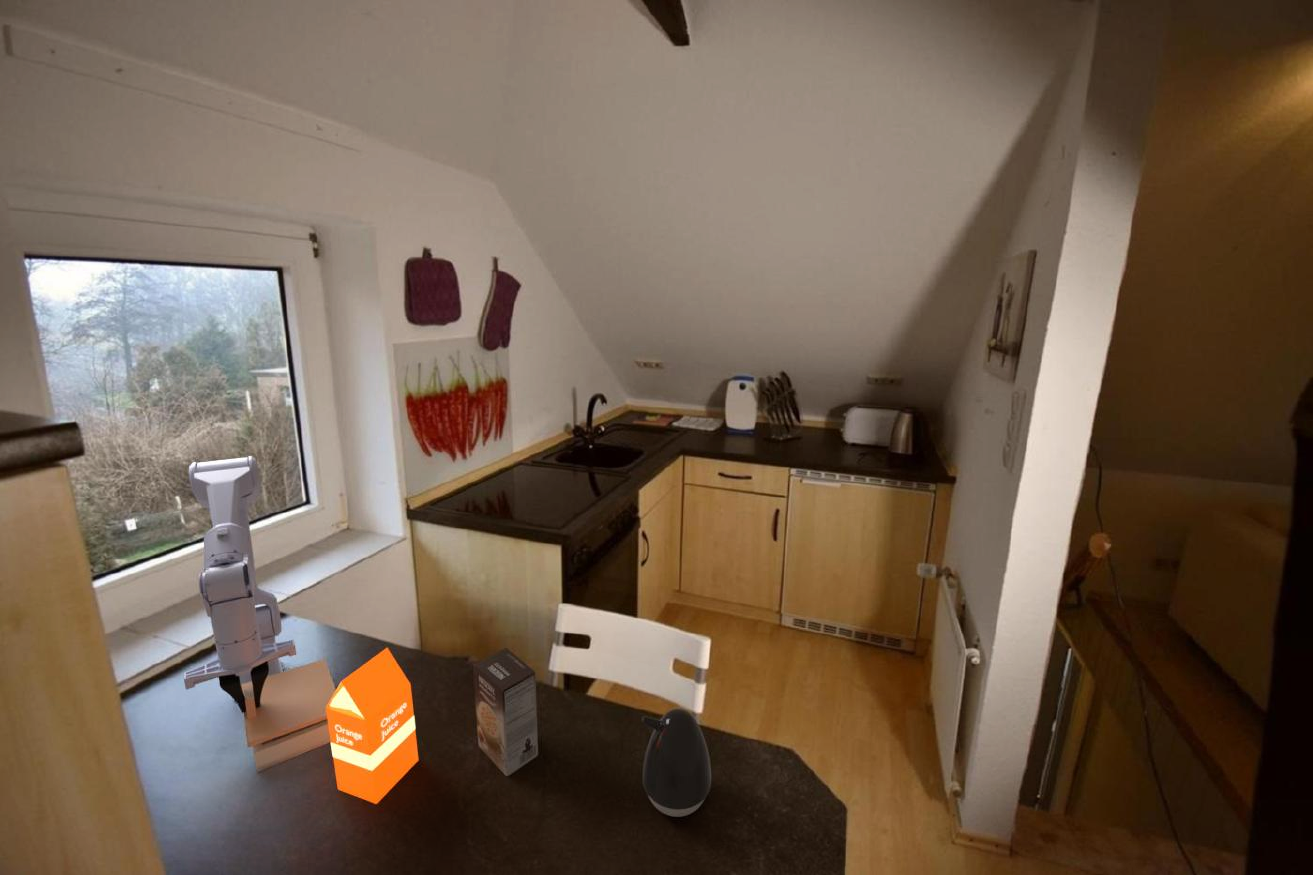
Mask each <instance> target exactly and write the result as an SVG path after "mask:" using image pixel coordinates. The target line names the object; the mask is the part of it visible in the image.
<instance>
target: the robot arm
mask: <svg viewBox="0 0 1313 875" xmlns="http://www.w3.org/2000/svg"><path fill="white" fill-rule="evenodd" d="M258 465H259V464H258V461H257V458H255V457H254V456H253V455H249V456H248V457H247V456H246V457H238V458H230V459H229V458H228V459H220V460H211V461H203V462H197V461H196V462H192V463H191V464H190V465H189V466H188V478H189V485H190V489H191V492H192V494H193V495H194V496H195V499H196V501H197V503H198V504H199V505H200V506H201V508H207V509H209V513H210V518H211V524H212V528H210V529H208V531H207V532H206V533H205V534H204V536H203V572H201V571H200V572H199V575H198V588H199V589H198V590H199V596H200V599H201V601H202V603H203V605H204V608H205V611H206V615H207V617H208V618H209V619H210V624H211V628H212V633H213V639H214V643H215V648H216V654H217V658H216V659H214V660H212V661H209V662H207V663H205V664H203V665H201V666H199V667H196V668H194V669H191V670H188V671H185V672H183V683H184V687H185V690H189V689H192V688H195V686H196V685H198V684H202V683H204V682H208V681H211V680H214V679H217V678H218V681H219V687H220V688H221V690H222V691H224V692H226V694H227V695H229V696H230V697H231V698H232V699H233V701H234V702H235V703H236V704H237V706H238V707H239V709H240V712H241V714H244V712H247V711H246V704H245V697H244V694H243V690H242V687H241V684H244V683H247V682H250V681H252V684H253V693H254V700H255V708H258V707H260V699H261V693H262V689H263V685H264V683H265V680H266V678H267V676H270V675H273V674H277V673H280V672H283V671H284V669H283V665H282V661H281V659H280V658H284V657H287V656H288V657H293V656H296V655H297V649H296V642H295V641H294V639H291V640H287V641H282V642H281V641H280V642H276V637H278V636H279V635H280V634H281V633H282V629H283V628H282V621H281V620H282V619H281V613H280V607H279V604H278V600H277V597H276V596H275V594H274V593H271V592H268V591H266V590H264V589H261V588H259V587H258V580H257V572H256V566H255V558H254V550H253V543H252V536H251V528H250V520H249V510H250V506H251V504H252V503H254V502H255V501H257V500H259V499H261V495H260V494H261V493H262V490H261V481H260V472H259V471H260V470H259V466H258ZM259 605H260V606H259ZM256 606H257V607H256Z"/></svg>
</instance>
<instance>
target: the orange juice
mask: <svg viewBox="0 0 1313 875" xmlns="http://www.w3.org/2000/svg"><path fill="white" fill-rule="evenodd" d="M326 712H327V719H328V726H329V733H330V739H331V742H330V748H331V754H332V758H333V764H334V772H335V779H336V784H337V785H336V786H337V787H336V788H337V790H338V791H341V792H342V793H346V794H349V795H351V796H354V797H358V798H359V799H362V800H365V801H367V802H370V803H372V804H375V805H377V804H379V802H380V801H381V800H382V799H383V798H384V797H385V796H386V795H387V794H388V793H389V792H390V790H392V789H393V787H394V786H396V784H397V783H398V782H399V781H400V780H401V779H402V778H403V777H404V776H405V775H406V774H407V773H408V772H409V770H411V768H413V767H414V766H415V765H416V763H418V762H419V753H418V744H417V743H418V741H417V735H416V734H417V733H416V728H417V727H416V719H415V718H416V717H415V714H414V704H413V695H412V686H411V682H410V681H409V679H408V678H407V677H406V674H405V673H404V671H403V669H402V668H401V667H400V665H399V663H397V660H396V659H395V658H394V656H393V654H392V652H391V651H390V650H389V648H388V646H387V647H386V648H384V650H382V651H380V652H378V654H376V655H375V656H374V657H372V658H371V659H370V660H368V661H367V662H366V663H364V664H362V666H360V667H359V668H358V669H356V670H354V671H353V672H352V673H350V674H349V675H348V676H347V677H345V678H344V679H342V680H341V681H340V683H339V684H338V686H337V688H336V691H335V693H334V695H333V697H332V698H331V700H330V702H329V703H328V705H327V707H326Z"/></svg>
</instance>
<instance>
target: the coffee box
mask: <svg viewBox="0 0 1313 875" xmlns="http://www.w3.org/2000/svg"><path fill="white" fill-rule="evenodd" d="M472 667H473V668H472V669H473V684H474V698H475V700H474V701H475V712H476V713H475V714H476V715H475V716H476V727H477V728H476V729H477V740H478V741H477V742H478V747H479V748H480V749H481V750H482V752H483V753H484V754H485V755H486V756H487V757H488V758H489V759H490V760H491V761H492V762H493V764H495V766H496V767H497V768H498V769H499V770H500V771H501V772H502V773H503V774H504V776H506V777H509V776H510V775H512V774H513V773H515V772H516V771H517V770H519V769H520V768H522V767H524V766H525V765H526V764H528V763H529V762H531V761H532V760H533V759H535V758H536V757H538V755H539V743H538V717H537V716H538V715H537V714H538V713H537V712H538V711H537V710H538V709H537V688H536V687H537V683H536V671H535V670H534V669H532V668H531V667H530V666H529V665H527V663H525V662H524V661H523V660H522V659H521V658H520V657H518V656H517V655H516V654H515V653H513V652H512V651H511V650H510V649H508V648H507V647H504V648H502V649H500V650H499V651H496V652H495V653H492V654H489V655H488V656H486V657H484V658H483V659H481V660H480V661H477V662H475V663H473V664H472Z"/></svg>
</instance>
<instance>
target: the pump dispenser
mask: <svg viewBox="0 0 1313 875" xmlns="http://www.w3.org/2000/svg"><path fill="white" fill-rule="evenodd" d="M641 723H642V724H643V725H645V726H646V727H648V728H651V729H653V731H652V734H651V736H650V739H649V741H648V744H647V747H646V751H645V755H644V761H643V768H642V784H643V788H644V791H645V792H646V794H647V796H648V799H649V800H650V802H651V804H652V805H653V806H654V807H655V808H656V809H657V810H658V811H659V812H661V813H662V814H664V815H667V816H670V817H674V818H675V817H678V818H679V817H685V816H688V815H691V814H693V813H694V812H696V811H697V810H698V809H699V808H700V807H701V805H702V804H703V802H704V801H705V799H706V797H707V796H708V794H709V793H710V790H711V785H712V770H711V759H710V755H709V754H710V753H709V750H708V745H707V743H706V739H705V736H704V734H703V732H702V729H701V727H700V725H699V723H698V721H697V720H696V718H695V717H694V715H693V714H692V713H690V711H688V710H686V709H684V708H681V707H680V708H679V707H677V708H671V709H669V710H667V711H666V712H665V714H663V716H662V717H661V718H659V719H657V718H654V717H650V716H647V715H644V716H642V719H641Z"/></svg>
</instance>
